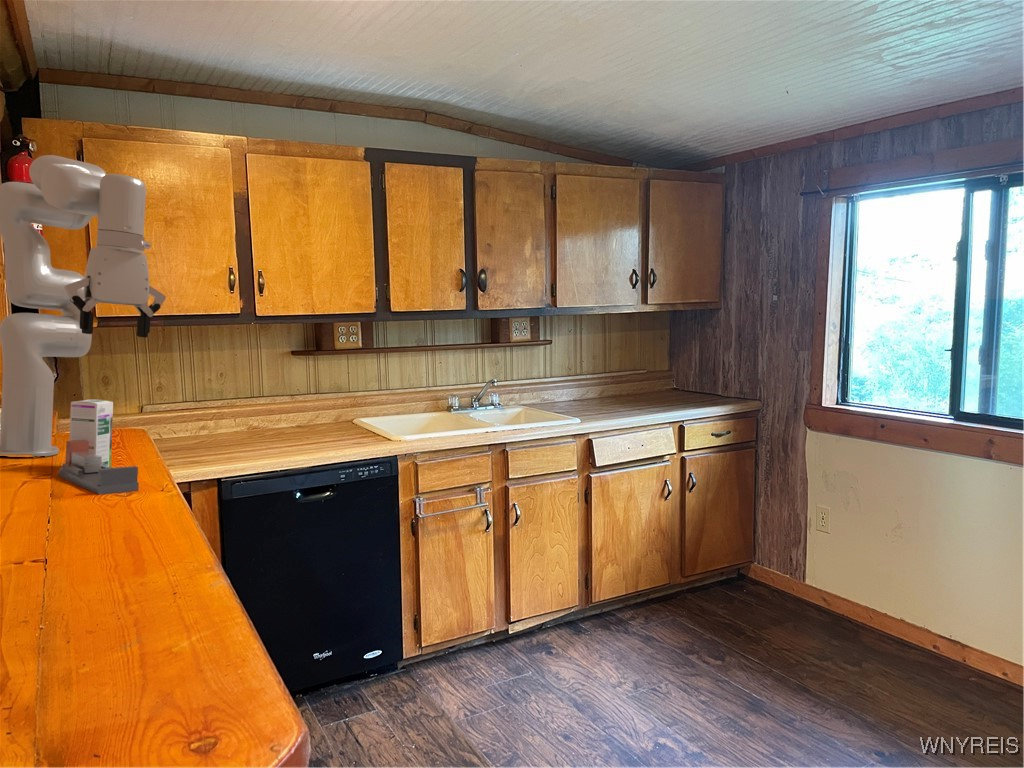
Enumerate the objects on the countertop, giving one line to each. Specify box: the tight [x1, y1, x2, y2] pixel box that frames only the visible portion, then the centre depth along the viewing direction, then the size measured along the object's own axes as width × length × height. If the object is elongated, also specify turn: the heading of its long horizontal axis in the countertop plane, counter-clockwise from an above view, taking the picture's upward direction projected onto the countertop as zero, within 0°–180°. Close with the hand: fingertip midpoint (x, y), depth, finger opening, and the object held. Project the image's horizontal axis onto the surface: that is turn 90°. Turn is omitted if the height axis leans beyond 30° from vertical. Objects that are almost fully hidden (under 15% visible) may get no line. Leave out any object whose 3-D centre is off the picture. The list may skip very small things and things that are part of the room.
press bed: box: [58, 462, 140, 495], centre depth 136 cm, size 19×7×4 cm, turn 51°
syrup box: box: [69, 399, 114, 468], centre depth 148 cm, size 6×6×14 cm
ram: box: [64, 440, 102, 473], centre depth 140 cm, size 9×3×5 cm, turn 51°
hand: (115, 335), depth 131 cm, fingers open, 9 cm apart
